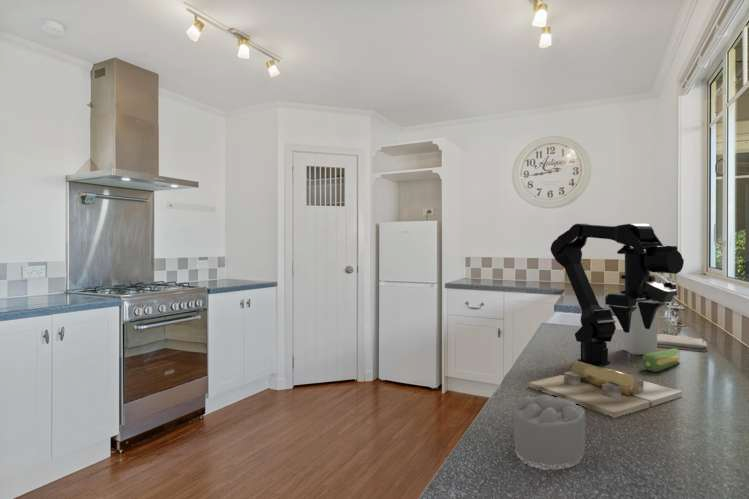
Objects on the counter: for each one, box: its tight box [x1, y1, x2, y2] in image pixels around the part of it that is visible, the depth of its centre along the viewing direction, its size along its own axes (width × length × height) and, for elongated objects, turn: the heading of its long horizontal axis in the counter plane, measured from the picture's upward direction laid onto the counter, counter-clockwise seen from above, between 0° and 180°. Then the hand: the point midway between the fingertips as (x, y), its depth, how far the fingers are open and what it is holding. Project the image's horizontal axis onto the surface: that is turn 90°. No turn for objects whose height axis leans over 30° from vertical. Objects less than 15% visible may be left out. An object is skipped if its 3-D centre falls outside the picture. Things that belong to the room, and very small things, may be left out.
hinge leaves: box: [528, 371, 683, 419], centre depth 103 cm, size 22×25×4 cm
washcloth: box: [657, 333, 709, 353], centre depth 148 cm, size 12×18×3 cm, turn 56°
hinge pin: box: [570, 360, 638, 396], centre depth 103 cm, size 14×4×4 cm, turn 28°
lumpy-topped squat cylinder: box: [513, 394, 586, 465], centre depth 74 cm, size 10×13×9 cm
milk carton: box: [622, 301, 658, 356], centre depth 139 cm, size 7×7×19 cm
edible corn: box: [642, 348, 680, 373], centre depth 123 cm, size 5×20×5 cm
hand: (637, 330), depth 115 cm, fingers open, 9 cm apart
